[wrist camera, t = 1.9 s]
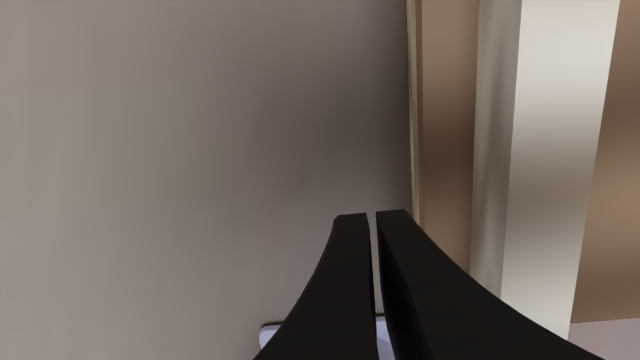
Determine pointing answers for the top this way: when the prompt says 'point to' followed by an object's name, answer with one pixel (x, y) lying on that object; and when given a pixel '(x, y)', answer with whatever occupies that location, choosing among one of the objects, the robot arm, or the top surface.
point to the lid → (534, 151)
